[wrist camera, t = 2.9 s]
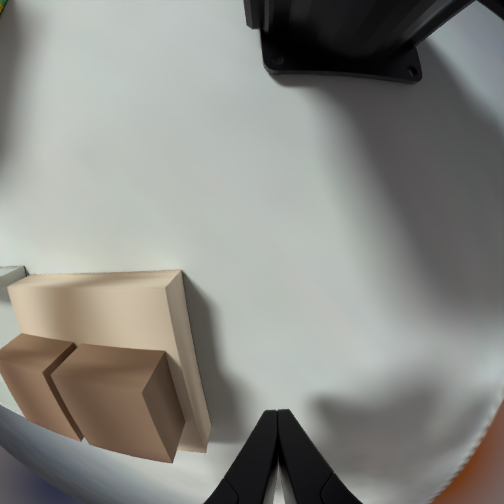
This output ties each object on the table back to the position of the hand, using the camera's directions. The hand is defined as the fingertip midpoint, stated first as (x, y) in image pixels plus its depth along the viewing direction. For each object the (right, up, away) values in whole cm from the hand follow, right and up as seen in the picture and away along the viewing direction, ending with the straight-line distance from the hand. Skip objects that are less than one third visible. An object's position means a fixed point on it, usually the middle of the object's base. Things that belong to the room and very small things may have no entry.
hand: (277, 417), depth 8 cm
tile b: (-10, 0, +2) cm, 11 cm away
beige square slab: (-8, 0, +4) cm, 9 cm away
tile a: (-6, 0, +2) cm, 6 cm away
